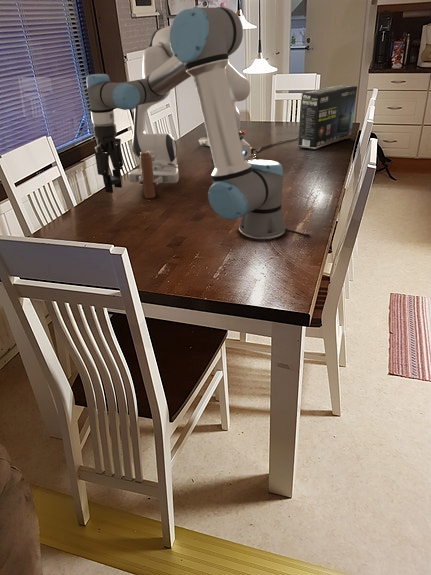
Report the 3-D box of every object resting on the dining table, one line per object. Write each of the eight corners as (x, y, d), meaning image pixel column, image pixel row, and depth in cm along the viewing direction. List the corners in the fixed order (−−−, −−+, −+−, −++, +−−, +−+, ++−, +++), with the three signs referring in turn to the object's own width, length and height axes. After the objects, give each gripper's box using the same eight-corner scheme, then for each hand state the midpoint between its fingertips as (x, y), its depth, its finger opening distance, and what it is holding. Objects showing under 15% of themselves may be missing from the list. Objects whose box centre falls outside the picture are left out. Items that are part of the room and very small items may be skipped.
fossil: (222, 142, 237) (203, 124, 241) (211, 159, 244) (193, 141, 247) (239, 140, 251) (221, 123, 254) (229, 157, 258) (211, 140, 261)
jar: (142, 196, 184) (137, 151, 175) (152, 193, 186) (147, 149, 177) (147, 199, 180) (142, 154, 171) (157, 196, 183) (153, 152, 173)
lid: (121, 180, 169) (121, 175, 168) (117, 185, 165) (117, 180, 164) (108, 180, 170) (107, 175, 169) (103, 184, 165) (102, 180, 164)
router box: (314, 151, 231) (318, 94, 217) (296, 148, 237) (299, 92, 224) (352, 138, 251) (358, 85, 238) (335, 135, 258) (340, 83, 245)
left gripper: (134, 163, 191) (121, 173, 180) (181, 164, 187) (171, 175, 176) (135, 178, 194) (123, 189, 183) (182, 179, 190) (173, 191, 179)
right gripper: (97, 130, 148) (108, 199, 160) (128, 119, 162) (135, 183, 174) (78, 129, 151) (90, 196, 163) (110, 118, 165) (119, 181, 177)
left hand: (147, 182), depth 179 cm, fingers closed on jar, 4 cm apart
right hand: (113, 189), depth 169 cm, fingers closed on lid, 5 cm apart
